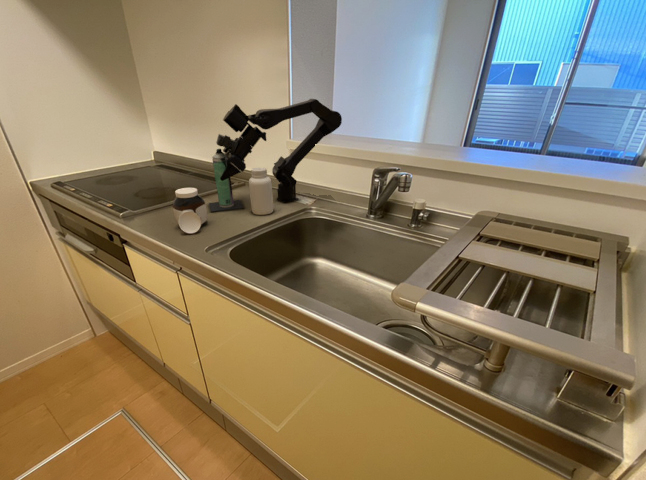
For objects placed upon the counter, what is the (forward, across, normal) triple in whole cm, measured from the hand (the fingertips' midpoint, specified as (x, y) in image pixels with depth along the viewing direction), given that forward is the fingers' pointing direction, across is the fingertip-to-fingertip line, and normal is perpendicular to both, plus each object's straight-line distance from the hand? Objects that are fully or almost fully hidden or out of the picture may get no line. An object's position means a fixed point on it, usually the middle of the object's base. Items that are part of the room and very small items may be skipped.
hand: (219, 176), depth 124 cm
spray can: (+7, 0, +8) cm, 11 cm away
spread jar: (+16, +18, -1) cm, 25 cm away
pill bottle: (-1, +11, +17) cm, 20 cm away
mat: (+7, 0, +8) cm, 11 cm away
